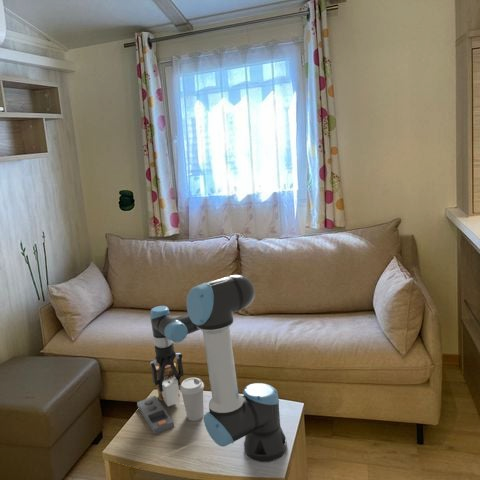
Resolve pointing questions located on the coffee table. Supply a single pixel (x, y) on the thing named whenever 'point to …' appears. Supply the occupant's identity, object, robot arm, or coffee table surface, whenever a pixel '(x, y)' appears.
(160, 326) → the robot arm
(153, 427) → the power strip
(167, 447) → the coffee table surface
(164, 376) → the candy box
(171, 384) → the block
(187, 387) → the coffee cup
